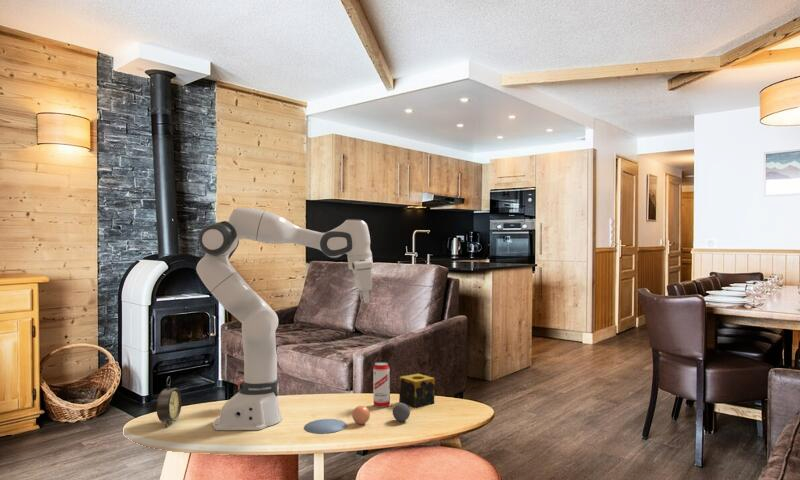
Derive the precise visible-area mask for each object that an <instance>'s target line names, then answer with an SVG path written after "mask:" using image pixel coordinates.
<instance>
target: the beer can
mask: <svg viewBox="0 0 800 480" xmlns="http://www.w3.org/2000/svg"><path fill="white" fill-rule="evenodd" d="M372 371H373V374H372V375H373V376H372V377H373V378H372V379H373V382H372V383H373V384H372V385H373V387H372V389H373V393H372V395H373V396H372V399H373V405H374V406H375V408H378V409H382V408H383V409H384V408H388V407H389V405H390V404H391V395H390V394H391V393H390V392H391V388H390V387H391V386H390V385H391V381H390V380H391V378H390V377H391V376H390V373H391V372H390V366H389V363H388V362H384V361H383V362H381V361H380V362H375V363H374V366H373V370H372Z"/></svg>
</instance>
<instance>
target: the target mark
mask: <svg viewBox="0 0 800 480" xmlns="http://www.w3.org/2000/svg"><path fill="white" fill-rule="evenodd" d="M345 428H347V423H346V422H345V421H343V420H341V419H333V418H321V419H317V420H316V419H315V420H313V421H309V422H307V423H306V424H305V425H304V430H305V431H306V432H307V433H308V432H309V433H312V434H317V435H318V434H322V435H323V434H324V433H326V434H333V433H337V432H340V431H344V430H345Z"/></svg>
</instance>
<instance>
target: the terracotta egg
mask: <svg viewBox="0 0 800 480" xmlns="http://www.w3.org/2000/svg"><path fill="white" fill-rule="evenodd" d="M370 416H371V413H370V409H369V408H368V407H367V406H365V405H357V406H355V408H354V409H353V411H352V415H351V417H352V421H354V422H355V423H356V424H357V425H364V424H366V423H367V422H368V421H369V420H370Z"/></svg>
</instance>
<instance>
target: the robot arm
mask: <svg viewBox="0 0 800 480" xmlns="http://www.w3.org/2000/svg"><path fill="white" fill-rule="evenodd" d="M368 226H369V225H368V223H367V222H366V221H364V220H363V219H355V218H349V219H348V218H347V219H346V220H344V222H343V223H341V224H340V225H339V226H337V227H334V228H333V229H331V230H328V231H326V232H320V231H316V230H311V229H307V228H303V227H301V226H298V225H296V224H294V223H293V222H291V221H289V220H288V219H286V218H284V217H283V216H281V215H278V214H276V213H273V212H270V211H266V210H262V209H257V208H251V207H237V208H235V209H233V210H232V212H231V213H230V216H229V217H228V220H223V221H219V222H215V223H212V224H209V225H206V226H204V228H202V230H200V232H199V235H198V244H199V247H200V248H201V250H202V251H203V252H204V253H205V254H204V256H203V257H202V258H201V259H200V260H199V261H198V262H197V265H196V267H195V271H196V274H197V275H198V277H199V279H200V280H201V281H202V284H204V286H205V287H206V288H207V290H208V291H209V292H210V293H211V294H212V295H213V297H214V298H215V299H216V300H217V301H218V302H219V304H220V305H221V306H222V307H223V308H224V310H225V311H227V312H229V313H230V314H231V315H232V316H233V317H234V318H236V320H238V321H239V322H240V323H241V340H242V352H243V361H244V362H243V364H244V365H243V367H244V374H243V378H244V379H239V380H238V382H237V393H235V394H234V395H233V396H232V397H230V399H228V400H227V401H225V403H224V404H223V406H222V407H221V410H220V414H219V415H220V416H218V417H216V418H215V420H214V421H213V424H212V428H213V430H215V429H216V430H215V431H259V430H262V429H265V428H266V427H270V426H273V425H277V424H278V423H280V422H281V421H282V415H281V412H280V406H279V397H278V395H279V386H280V385H279V379H278V355H277V343H276V340H277V339H276V333H277V332H276V331H277V329H278V326H279V317H278V314H277V312H276V311H274V310H273V308H272V307H271V306H270V305H269V304H268V303H267V302H266V301H265V300H264V299H263V298H262V297H261V296H260V295H259V294H258V293H256V291H255V290H253V289H252V288H251V286H250V285H249V284H248V283H247V281H246V280H245V279H244V278H243V277H242V276H241V275H240V274H239V273H238V272H237V270H236V269H235V268H234V267H233V265H232V264H231V263H230V261H229V260H230V259H231V257H232V256H233V254H234V253H235V251H236V250H237V248H238V247H239V243H240V240H245V239H247V240H251V241H255V242H259V243H264V244H272V245H273V244H274V245H280V244H295V245H300V246H304V247H307V248H313V249H317V250H318V251H320V252H321V253H323V255H325V256H327V257H329V258H333V259H338V258H340V257H342V256H343V255H347V263H348V265H347V266H348V270H352V274H353V275H354V276H353V277H354V283H355V284H354V285H355V288H357V289H358V292H359V298H360V301H362V302H363V303H364V304H368V303H370V291H371V290H373V272H372V269H373V267H374V262H373V252H372V250H371V236H370V231H369V227H368Z"/></svg>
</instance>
